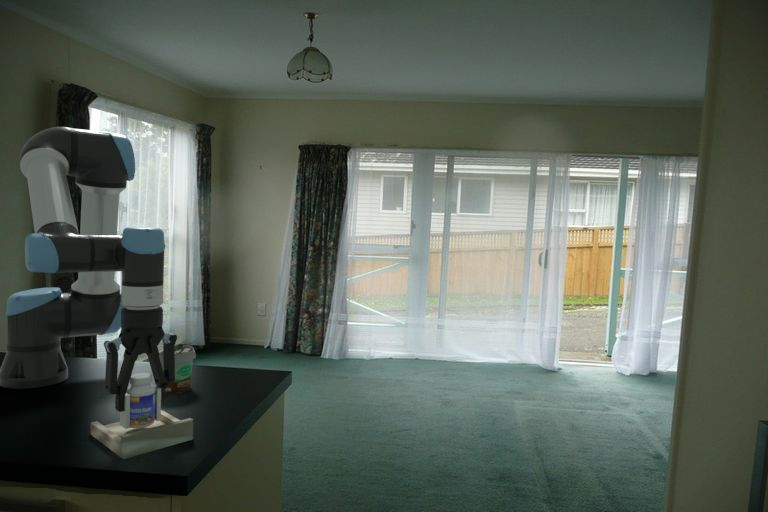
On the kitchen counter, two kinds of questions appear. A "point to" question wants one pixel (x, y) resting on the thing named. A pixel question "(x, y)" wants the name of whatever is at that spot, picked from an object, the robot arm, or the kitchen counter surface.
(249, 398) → the kitchen counter surface
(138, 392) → the pill bottle
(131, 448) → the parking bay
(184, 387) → the food container
